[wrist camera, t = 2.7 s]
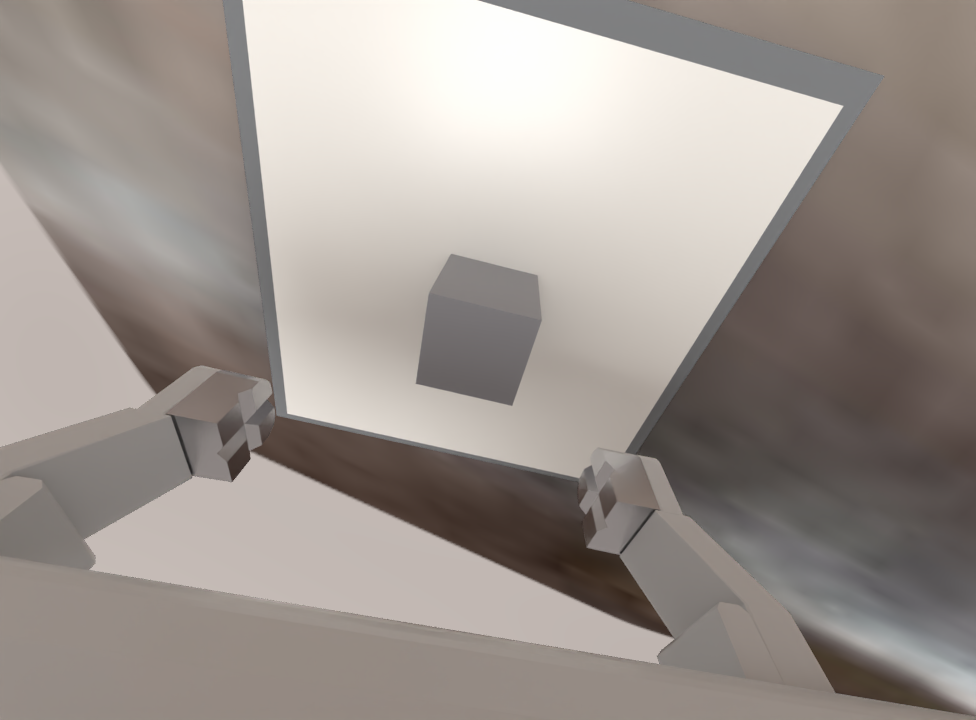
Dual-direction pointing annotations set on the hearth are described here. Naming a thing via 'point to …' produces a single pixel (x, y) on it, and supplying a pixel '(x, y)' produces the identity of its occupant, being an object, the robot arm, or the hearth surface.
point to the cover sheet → (501, 218)
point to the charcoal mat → (608, 12)
